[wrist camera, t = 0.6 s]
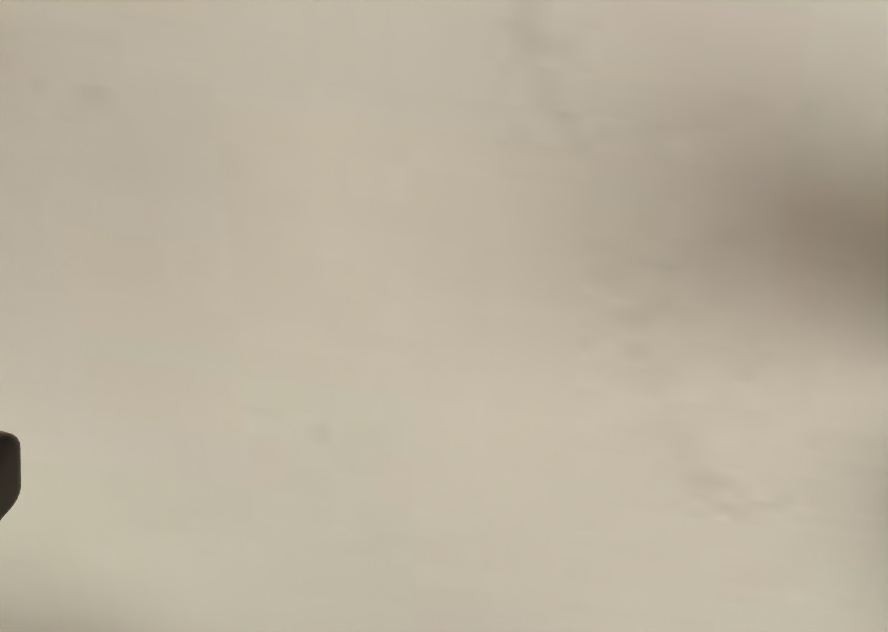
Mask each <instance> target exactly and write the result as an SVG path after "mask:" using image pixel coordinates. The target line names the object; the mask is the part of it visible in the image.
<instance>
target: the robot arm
mask: <svg viewBox="0 0 888 632" xmlns="http://www.w3.org/2000/svg"><path fill="white" fill-rule="evenodd" d="M20 489H21V458H20V442H19V440H18V438H17V437H16V436H14V435H13V434H10V433H7V432H3V431H0V520H1V519H2V518H3V516H4V515H5V514H6V513H7V512H8V511H9V510H10V509H11V507H12V506H13V505H14V503H15V502H16V500H17V498H18V496H19V493H20Z"/></svg>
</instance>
